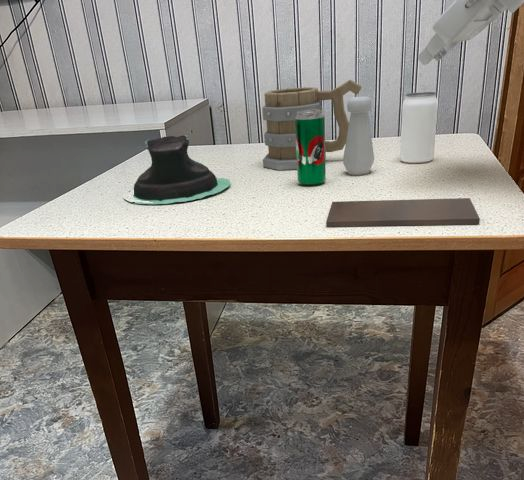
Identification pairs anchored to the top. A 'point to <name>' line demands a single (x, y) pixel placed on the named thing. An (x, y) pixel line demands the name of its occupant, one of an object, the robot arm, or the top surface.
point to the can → (418, 127)
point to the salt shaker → (358, 138)
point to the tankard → (283, 121)
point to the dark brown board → (402, 213)
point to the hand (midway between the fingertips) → (428, 59)
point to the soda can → (310, 147)
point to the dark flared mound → (175, 174)
